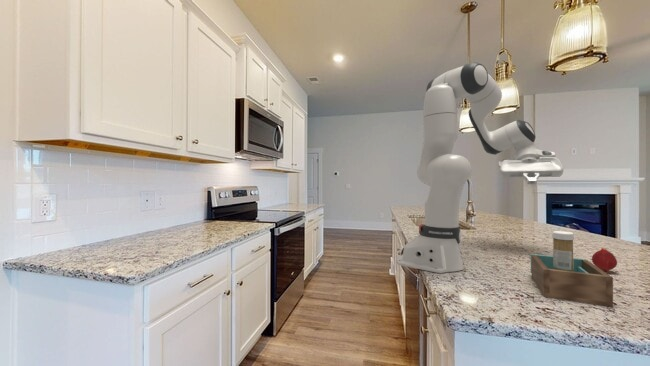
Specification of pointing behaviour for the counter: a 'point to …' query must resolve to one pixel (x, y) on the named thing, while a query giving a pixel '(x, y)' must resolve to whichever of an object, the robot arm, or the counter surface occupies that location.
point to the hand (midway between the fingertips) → (532, 182)
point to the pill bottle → (563, 250)
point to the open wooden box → (574, 283)
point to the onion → (604, 260)
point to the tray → (549, 263)
